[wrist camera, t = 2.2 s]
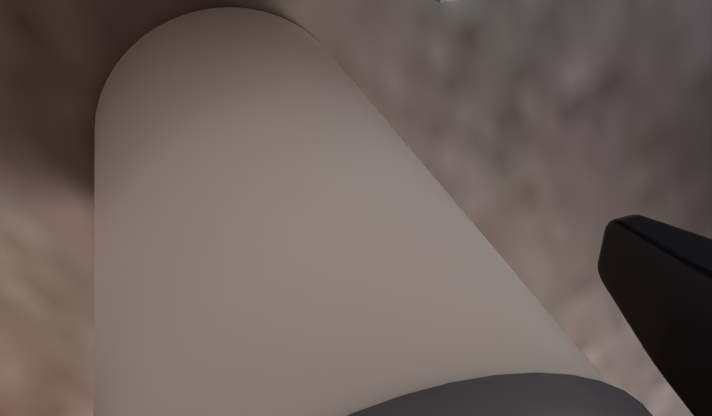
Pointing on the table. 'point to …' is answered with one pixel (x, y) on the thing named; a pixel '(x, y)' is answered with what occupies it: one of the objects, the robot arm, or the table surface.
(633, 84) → the table surface
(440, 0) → the tray
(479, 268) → the shaker
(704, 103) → the table surface
